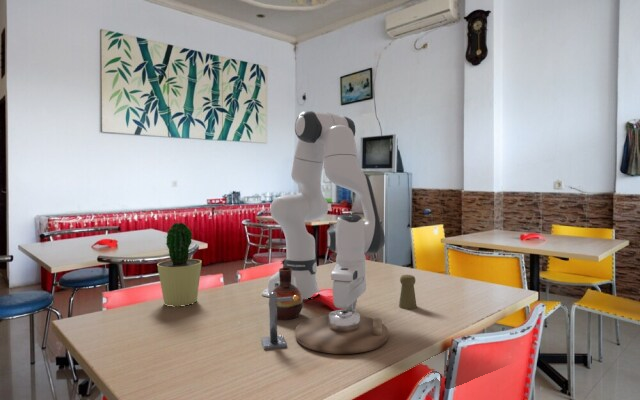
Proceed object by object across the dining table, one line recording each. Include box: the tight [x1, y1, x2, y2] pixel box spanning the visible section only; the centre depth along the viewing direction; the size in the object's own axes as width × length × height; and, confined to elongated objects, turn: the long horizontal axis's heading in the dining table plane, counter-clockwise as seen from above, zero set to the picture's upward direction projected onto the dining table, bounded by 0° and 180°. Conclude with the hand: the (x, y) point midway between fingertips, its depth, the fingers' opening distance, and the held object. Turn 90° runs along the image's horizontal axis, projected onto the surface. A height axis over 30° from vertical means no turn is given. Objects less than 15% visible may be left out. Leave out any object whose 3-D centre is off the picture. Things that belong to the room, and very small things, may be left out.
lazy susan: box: [294, 314, 389, 355], centre depth 115 cm, size 26×26×6 cm
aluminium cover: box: [328, 309, 361, 333], centre depth 117 cm, size 9×9×4 cm
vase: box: [272, 267, 304, 320], centre depth 133 cm, size 11×11×15 cm
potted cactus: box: [156, 222, 202, 306], centre depth 148 cm, size 15×15×30 cm
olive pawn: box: [398, 274, 418, 310], centre depth 141 cm, size 6×6×11 cm
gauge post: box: [260, 292, 299, 351], centre depth 110 cm, size 10×6×14 cm, turn 105°
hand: (351, 314), depth 122 cm, fingers closed
